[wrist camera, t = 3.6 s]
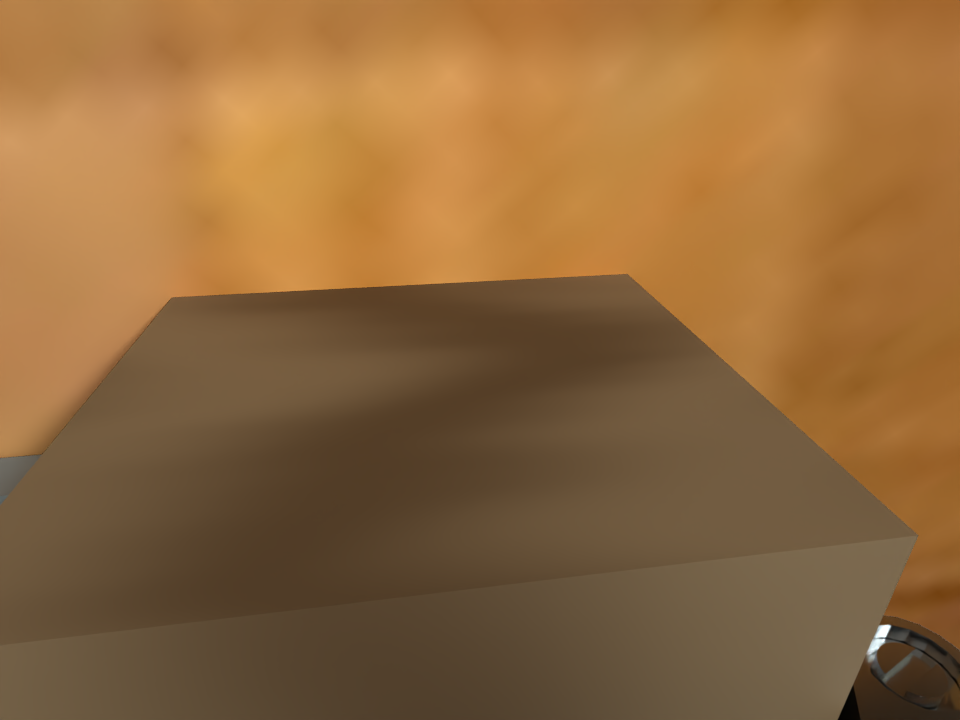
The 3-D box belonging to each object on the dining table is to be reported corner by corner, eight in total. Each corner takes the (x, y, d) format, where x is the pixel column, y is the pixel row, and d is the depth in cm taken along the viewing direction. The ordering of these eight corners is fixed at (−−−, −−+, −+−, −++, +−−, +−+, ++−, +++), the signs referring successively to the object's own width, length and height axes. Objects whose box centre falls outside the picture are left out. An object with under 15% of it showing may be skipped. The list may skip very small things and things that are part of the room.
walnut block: (627, 274, 10) (918, 535, 5) (591, 584, 13) (737, 949, 8) (172, 297, 9) (-129, 659, 4) (253, 625, 12) (157, 1072, 7)
